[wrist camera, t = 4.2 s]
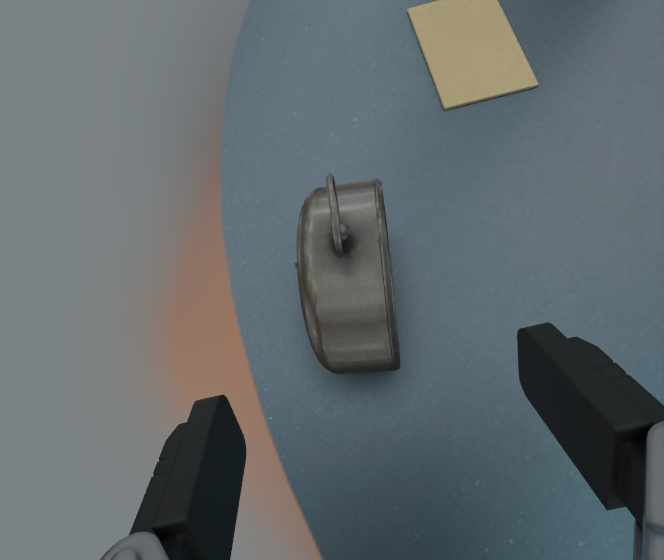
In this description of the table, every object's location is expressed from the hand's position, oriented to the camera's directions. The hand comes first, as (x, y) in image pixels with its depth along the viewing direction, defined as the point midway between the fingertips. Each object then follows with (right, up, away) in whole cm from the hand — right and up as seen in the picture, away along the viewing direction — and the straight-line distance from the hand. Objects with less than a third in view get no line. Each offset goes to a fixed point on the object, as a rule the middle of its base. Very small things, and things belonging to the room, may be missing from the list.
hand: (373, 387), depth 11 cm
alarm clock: (+1, +1, +19) cm, 19 cm away
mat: (+11, +24, +26) cm, 37 cm away
